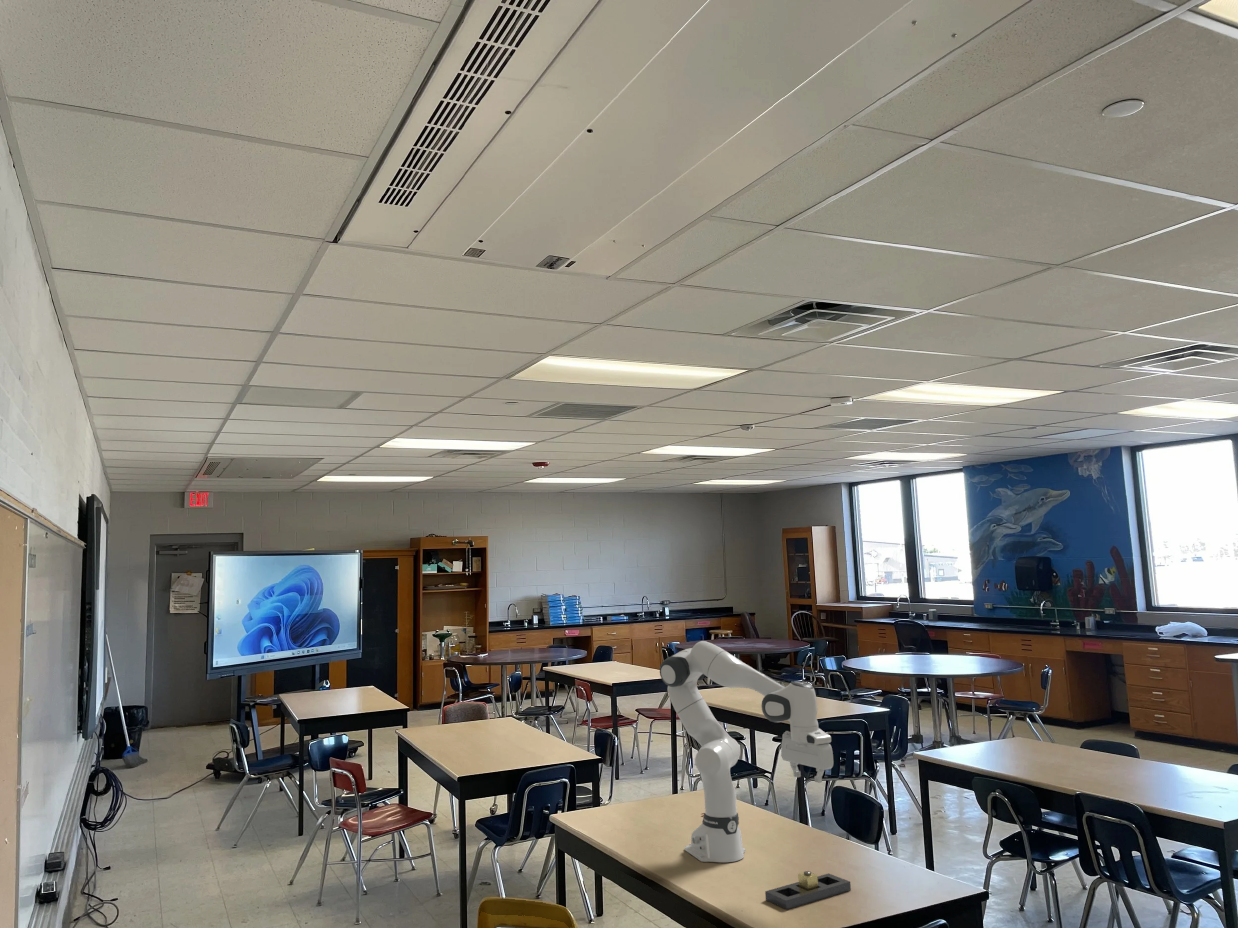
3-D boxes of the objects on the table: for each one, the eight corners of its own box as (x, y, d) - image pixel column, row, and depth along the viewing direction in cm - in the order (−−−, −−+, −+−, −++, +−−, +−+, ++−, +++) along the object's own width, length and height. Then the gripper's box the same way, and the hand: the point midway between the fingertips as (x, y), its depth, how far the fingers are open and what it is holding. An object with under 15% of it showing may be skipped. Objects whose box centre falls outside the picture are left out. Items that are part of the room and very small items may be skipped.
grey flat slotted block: (765, 899, 245) (765, 891, 245) (829, 881, 258) (828, 873, 258) (786, 909, 237) (786, 900, 237) (850, 890, 250) (850, 881, 251)
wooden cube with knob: (799, 894, 248) (798, 871, 249) (809, 891, 250) (807, 868, 251) (808, 898, 245) (807, 875, 246) (818, 895, 247) (817, 872, 248)
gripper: (775, 731, 270) (777, 775, 268) (820, 739, 253) (823, 786, 251) (789, 728, 274) (792, 772, 272) (835, 737, 256) (838, 783, 254)
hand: (807, 779), depth 261 cm, fingers open, 8 cm apart
